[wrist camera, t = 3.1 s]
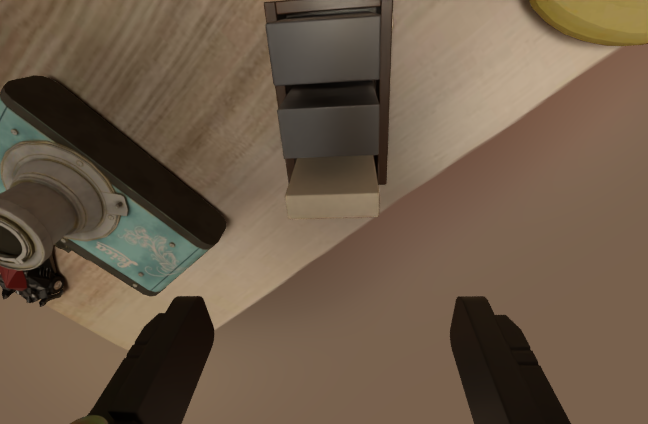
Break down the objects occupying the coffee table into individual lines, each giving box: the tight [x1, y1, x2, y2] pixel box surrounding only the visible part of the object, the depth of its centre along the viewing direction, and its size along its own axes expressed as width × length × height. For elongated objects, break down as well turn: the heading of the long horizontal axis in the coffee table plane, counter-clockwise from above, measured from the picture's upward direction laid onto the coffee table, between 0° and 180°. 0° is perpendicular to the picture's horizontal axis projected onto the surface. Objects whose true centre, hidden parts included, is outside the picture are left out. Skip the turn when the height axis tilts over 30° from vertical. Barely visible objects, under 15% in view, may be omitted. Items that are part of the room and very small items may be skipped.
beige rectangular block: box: [285, 155, 380, 219], centre depth 20 cm, size 5×1×9 cm, turn 94°
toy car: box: [0, 254, 64, 307], centre depth 31 cm, size 6×12×4 cm, turn 166°
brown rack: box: [264, 0, 393, 185], centre depth 19 cm, size 7×11×9 cm, turn 4°
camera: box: [0, 76, 226, 296], centre depth 24 cm, size 16×10×10 cm
